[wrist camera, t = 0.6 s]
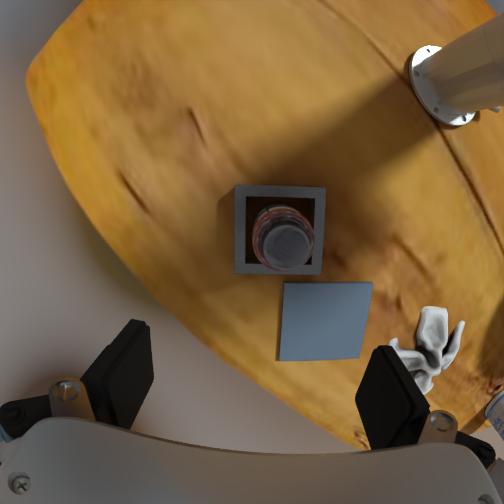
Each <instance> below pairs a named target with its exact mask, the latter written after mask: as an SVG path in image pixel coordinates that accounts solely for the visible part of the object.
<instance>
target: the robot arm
mask: <svg viewBox="0 0 504 504" xmlns="http://www.w3.org/2000/svg"><path fill="white" fill-rule="evenodd" d="M409 76H410V81H411V85H412V87H413V90H414V92H415V94H416V96H417V98H418V100H419V101H420V103H421V104H422V105H423V107H424V108H425V109H426V110H427V111H428V113H429V114H431V115H432V116H433V117H434V118H435V119H437V120H438V121H440V122H441V123H443V124H446V125H449V126H461V125H465V124H467V123H468V122H470V121H471V120H472V118H473V117H474V115H475V112H476V111H479V110H484V109H489V110H491V111H493V112H495V113H498V112H499V110H500V106H504V13H502V14H500V15H498V16H497V17H495V18H493V19H491V20H489V21H487V22H486V23H484V24H482V25H480V26H478V27H477V28H475V29H473V30H471V31H469V32H468V33H466V34H464V35H463V36H461V37H459V38H457V39H456V40H454V41H452V42H451V43H449V44H447V45H446V46H444V47H442V48H439V47H436V46H425V47H422V48H420V49H419V50H417V51H416V52H415V53H414V54H413V56H412V57H411V60H410V63H409ZM153 379H154V373H153V363H152V352H151V339H150V327H149V326H147V325H146V323H145V322H144V321H139V320H135V319H131V320H130V321H129V322H128V324H127V325H126V326H125V327H124V328H123V330H122V331H121V332H120V333H119V334H118V336H117V337H116V338H115V339H114V340H113V342H112V343H111V344H110V345H108V346H107V347H106V348H105V349H104V350H103V351H102V352H101V354H100V355H99V356H98V357H97V359H96V360H95V361H94V363H92V365H91V366H90V367H89V369H88V370H87V371H86V372H85V374H84V375H83V376H82V377H81V378H80V380H78V379H76V378H72V377H63V378H60V379H57V380H56V381H54V382H53V383H52V384H51V385H50V387H49V394H48V395H43V396H38V397H33V398H27V399H22V400H16V401H10V402H7V403H5V404H3V405H2V406H1V408H0V504H504V460H502V459H501V458H498V459H497V460H496V459H495V456H496V454H495V451H494V449H493V447H492V446H491V445H490V444H488V443H487V442H484V441H482V440H479V439H477V438H474V437H472V436H469V435H467V434H464V433H462V432H460V431H457V429H458V422H457V420H456V418H455V417H454V416H453V415H452V414H451V413H449V412H447V411H444V410H435V411H432V412H430V410H429V407H430V405H429V403H428V402H427V400H426V398H425V397H424V395H423V393H422V392H421V390H420V389H419V387H418V385H417V384H416V382H415V381H414V379H413V377H412V376H411V374H410V373H409V371H408V369H407V368H406V366H405V365H404V363H403V362H402V360H401V359H400V357H399V356H398V354H397V353H396V351H395V350H394V348H393V347H392V346H390V345H380V346H378V347H377V349H374V350H373V352H372V355H371V358H370V360H369V363H368V366H367V368H366V371H365V373H364V376H363V378H362V381H361V383H360V386H359V388H358V391H357V393H356V396H355V402H356V405H357V408H358V411H359V414H360V417H361V420H362V423H363V426H364V429H365V432H366V435H367V438H368V441H369V444H370V447H371V450H367V451H357V452H345V453H326V454H278V453H259V452H247V451H236V450H228V449H220V448H212V447H205V446H200V445H194V444H188V443H183V442H178V441H173V440H168V439H164V438H159V437H155V436H151V435H147V434H143V433H139V432H135V431H132V430H130V428H131V426H132V424H133V422H134V420H135V418H136V416H137V414H138V411H139V410H140V407H141V405H142V403H143V401H144V399H145V397H146V395H147V393H148V391H149V389H150V387H151V385H152V383H153Z"/></svg>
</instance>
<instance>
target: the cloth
mask: <svg viewBox="0 0 504 504" xmlns="http://www.w3.org/2000/svg"><path fill="white" fill-rule="evenodd" d="M464 324H465V322H464V321H460V322H459V323H458V324H457V326H456V327H455V329H454V331H453V335H452V338H451V340H450V342H449V344H448V345H447V346H446V344H447V340H448V313H447V310H446V308H440V307H433V306H426V307H424V308H423V309H422V310H421V318H420V323H419V326H418V330H417V334H416V337H417V346H416V348H420V350H419V351H415V350H408V349H402V348H401V347H399V346H398V339H397V338H394V339H392V340H391V341H390V342H389V343H388V345H390V346H392V347H393V348H394V350H395V351H396V353H397V354H398V356H399V357H400V359H401V360H402V362H403V363H404V365H405V366H406V368H407V369H408V371H412V372H411V376H412V377H413V379H414V381H415V382H416V384H417V385H418V387H419V389H420V390H421V392H422V393H423V395H424V394H426V393H427V392H429V391H430V390H431V388H432V387H433V383H432V382H431V379H432V377H433V376H436V375H439V373H440V372H441V369H442V370H445V369H446V368H447V367H448V366H449V365H450V363H451V362H452V361H453V360H454V358H455V356H456V353H457V351H458V350H459V345H460V337H461V334H462V331H463V328H464ZM445 346H446V347H445ZM444 347H445V349H444ZM443 349H444V350H443ZM442 350H443V351H442Z"/></svg>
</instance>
